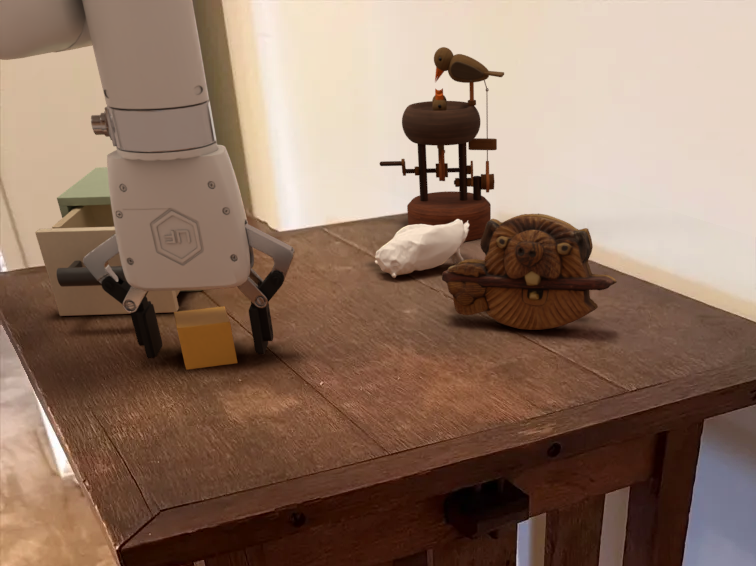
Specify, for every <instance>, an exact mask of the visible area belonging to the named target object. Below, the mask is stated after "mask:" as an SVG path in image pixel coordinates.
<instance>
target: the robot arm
mask: <svg viewBox="0 0 756 566" xmlns="http://www.w3.org/2000/svg"><path fill="white" fill-rule="evenodd" d="M91 46H92V48H93V53H94V57H95V62H96V66H97V71H98V75H99V79H100V83H101V84H100V85H101V86H102V87H101V88H102V92H103V96H104V100H105V105H106V106H105V107H104V111H103V112H101V113H100V114H92V115H91V116H90V124H91V129H92V131H93V134H94V135H96V136H105V137H109V139H110V141H111V142H112V146H113V147H115V148H116V149H115V150H113V151H112V152H110V153H108V154H107V155H106V164H107V165H106V167H107V171H108V182H109V192H110V200H111V207H112V214H113V221H114V227H115V234H114V235H112V236H111V237H110V238H108V239H107V240H105V241H104V242H103V243H101V244H100V245H98V246H97V247H96V248H94V249H93V250H91V251H90V252H89V253H88V254H87V255H86V256H85V257H84V258H83V263H84V265H85V266H86V268H87V269H88V270H89V271H90V272H91V274H92V275H93V276H94V277H95V278H96V280H97V281H99V282H100V283H101V285H102V288H103V290H104V291H106V292H107V293H108V294H109V295H111V296H112V297H113V298H115V299H116V300H117V301H119V302H120V303H121V304H122V305H123V307H124V309H125V310H126V311H127V312H130V313H131V314H130V317H131V320H132V325H133V329H134V332H135V337H136V340H137V344H138V346H140V347H143V348H144V353H145V356H146V359H148V360H150V359H152V360H153V359H155V358H156V357H157V356H158V355H159V353H160V351H161V350H162V348H163V340H162V336H161V331H160V327H159V322H158V318H157V315H156V314H157V313H155V310H154V306H153V304H151V301H148V300H147V297H146V295H147V294H148V292H149V291H179V290H202V291H203V290H204V291H205V290H226V289H233V288H237V289H238V290H239V291H240V292H241V293H242V294H243V295H244V296H245V297H246V298H247V299H248V300H249V302H250V306H249V308H248V317H249V323H250V329H251V335H252V341H253V346H254V352H255V354H257V355H265V354H266V352H267V349H268V345H269V342H273V341H274V328H273V323H272V322H273V321H272V316H271V309H270V304H269V302H270V301H271V299H273V297H274V296H275V295H276V294H277V292H278V291H279V290H280V289H281V287H282V286H283V284H284V282H285V279H286V277H287V275H288V271H289V269H290V267H291V264H292V261H293V259H294V256H295V253H296V252H295V248H294V247H293V246H292V245H290V244H288V243H286V242H284V241H282V240H280V239H278V238H277V237H274V236H272V235H270V233H269V234H268V233H267V232H264V231H263V230H261V229H258V228H257V227H254V226H253V225H251V224H249V223H248V222H249V221H248V217H247V214H246V210H245V205H244V202H243V198H242V194H241V190H240V186H239V182H238V179H237V176H236V171H235V170H234V166H233V164H232V160H231V158H230V155H229V152H228V150H227V147H226V145H222V144H218V140H217V135H216V129H215V123H214V118H213V112H212V107H211V100H210V96H209V91H208V90H209V89H208V84H207V79H206V73H205V67H204V61H203V55H202V54H203V53H202V48H201V42H200V37H199V32H198V26H197V20H196V14H195V8H194V2H193V0H0V60H2V61H3V60H4V61H10V60H18V59H25V58H29V57H35V56H39V55H40V56H41V55H46V54H51V53H61V52H67V51H73V50H78V49H81V48H87V47H91ZM254 250H257V251H259V252H261V253H263V254H265V255H267V256H268V257H270V258H272V260H273V266H272V267H271V271H270V272H269V273H268V274H267V276H266V277H265V278H264V279H263V278H262V277H261V276H260V275H259V274H258V273H257V272H256V271H255V270H254V269H253V268H254V264H255V255H254ZM118 253H119V255H120V260H121V264H122V268H123V272H124V275H125V278H126V280H127V282H126V281H125V280H124V279H123V278H121V277H120V276H119V275H117V274H116V273H114V272H113V270H112V268H111V267H110V265H109V263H108V260H110V259H111V258H112V257H114V256H115V255H117V254H118Z"/></svg>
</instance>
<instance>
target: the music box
mask: <svg viewBox="0 0 756 566" xmlns="http://www.w3.org/2000/svg"><path fill="white" fill-rule="evenodd" d="M433 63H434V66H435V75H434V76H435V77H434V83H437V81H438V80H439V79H440V78H441V76H442V75H443V73H445V72H447V73H448V75H449V77H450V78H451V79H452V81H454V82H458V83H464V84H469V85H468V86H469V99H468V100H467V101H460V100H459V101H458V100H447V98H446V96H445V95H444V88H441V89H437V88H435V89H434V96H433V97H432V100H430V101H429V100H428V101H421V102H419V101H418V102H413V103H411V104H409V105H407V106H406V108H405V110H403V114H402V117H401V127H402V130H403V133H404V135H405V137H406V138H407V139H408V140H409V141H410V142H412V143H414V144H417V161H418V163H417V166H416V165H415V166H414V168H406V161H405V158H401V160H394V161H393V160H389V161H385V160H383V161H379V166H380V167H401V173H402V176H404V177H406V176H407V174H414V176H417V177H418V182H419V183H418V184H419V195H416V196H415V197H413V198H412V199H411V200H410V202H409V203H408V204H407V206H406V207H407V209H406V211H407V225H414V224H426V225H432V226H434V225H444V224H449V223H452V222H454V221H455V220H456V219H459V220H462V222H463V225H464V223H466V222H467V221H468V223H469V227H468V229H469V231H468V234H467V237H466V239H465V241H464V242H470V241H475V240H479V239H482V236H483V233H484V231H485V227H486V224H487V222H488V221H490V220H491V219H492V218H491V217H492V216H491V215H492V213H491V209H492V208H491V202H490V201H489V200H488V199H487V198H486V197H485V196H483V195H482V191H483V190H484V191H485V193H486V194H487V193H490V191H491V190H492V191H493V190H495V174H494V173H490V161H489V151H496V150H498V139H497V138H488V137H489V127H488V126H489V124H488V123H489V120H488V119H489V118H488V117H489V115H488V113H489V111H488V109H489V108H488V107H489V106H488V104H489V103H488V96H489V95H488V93H489V91H490V90H489V87H488V86H487V83H486V80H487V79H489V77H495V78H496V77H497V78H503V76H504V75H505V72H504V71H495V70H489V69H488V67H486V66H485V65H484V64H483V63H481V62H480V61H478V60H476V59H475V58H473V57H471V56H468V55H466V54H462V53H456V54H454V53H453V52H452V50H451V49H450V48H448V47H445V46H441V47H439V48H438V49H436V51H435V52H434V55H433ZM480 82H484V86H485V92H486V93H485V95H486V137H485V138H484V137H483V138H482V137H480V138H479V137H478V138H476V137H477V135H478V134H479V132H480V128H481V116H480V112H479V110H478V108H477V107H476V106H477V100H476V99H475V88H474V87H475V85H474V84H475V83H480ZM467 144H468V145H467ZM455 145H456V146H457V147H458V149H457V151H458V152H457V153H458V167H449V163H448V162H445V161H446V160H445V154H446V149H445V146H455ZM427 146H436V149H437V157H438V158H437V159H438V160H437V161H438V162H437V163H435V168H434V167H432V168H431V167H430V168H428V167H427V164H428V163H427ZM467 147H468V148H467ZM467 149H468V150H469V151H486V160H485V173H480V175H474V160H470V164H469V165H468V160H467V158H468V157H467V156H468V155H467V152H468V151H467ZM449 173H450V174H451V173H458V177H455V178H454V180H453V185H454V186H455V188H459V189H458V191H451V190H450V191H435V192H429V190H428V189H429V187H428V174H435V178H436V179H437V178H438V181H439V182H446V178H449ZM468 175H470V177H468ZM469 187H470V188H471V187H472V192H469V191H468V188H469Z"/></svg>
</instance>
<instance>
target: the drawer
mask: <svg viewBox="0 0 756 566" xmlns="http://www.w3.org/2000/svg"><path fill="white" fill-rule="evenodd" d="M34 233H35V236H36V240H37V244H38V247H39V250H40V254H41V257H42V259H43V264H44V267H45V270H46V273H47V277H48V279H49V284H50V288H51V291H52V294H53V297H54V300H55V304H56V308H57V311H58V314H59V316H60V317H65V316H66V317H69V316H70V317H71V316H72V317H73V316H100V315H101V316H102V315H104V316H105V315H131V313H130V312H127V311H126V310H125V309H124V307H123V305H122V304H121V303H120V302H119V301H117V300H116V299H115V298H113V297H112V296H111V295H109V294H108V293H107V292H106V291H104V290H103V288H102V285H101V283H100V282H99V281H97V280H96V278H95V277H94V276H93V275H92V274H91V272H90V271H89V270H88V269H87V268H86V266H85V265H84V263H83V258H84V257H85V256H86V255H87V254H88V253H89V252H90V251H91V250H93V249H94V248H96V247H97V246H98V245H100V244H101V243H103V242H104V241H105V240H107V239H108V238H110V237H111V236H112V235H114V234H115V227H114V221H113V214H112V207H111V205H85V206H76V207H75V208H74V209H73V210H72V211H70V212H69V213H68V214H67V215H66V216H64V217H63V218H62V217H61V219H59V220H58V221H57V222H56V223H55V224H53V226H51V228H37V230H36V231H35V232H34ZM108 263H109V265H110V267H111V268H112V270H113V272H114V273H116V274H117V275H119V276H120V277H121V278H123V279H124V280H125V281H126V282H127V280H126V278H125V275H124V272H123V268H122V264H121V260H120V255H119V253H118V254H117V255H115V256H114V257H112V258H111V259H110V260H108ZM179 293H181V292H180V290H179V291H149V292H148V294H147V295H146V297H147V300H148V301H151V304H153V306H154V310H155V314H160V313H161V314H163V313H174V312H178V311H179V309H180V306H179V302H178V298H177V297H178V295H179Z"/></svg>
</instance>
